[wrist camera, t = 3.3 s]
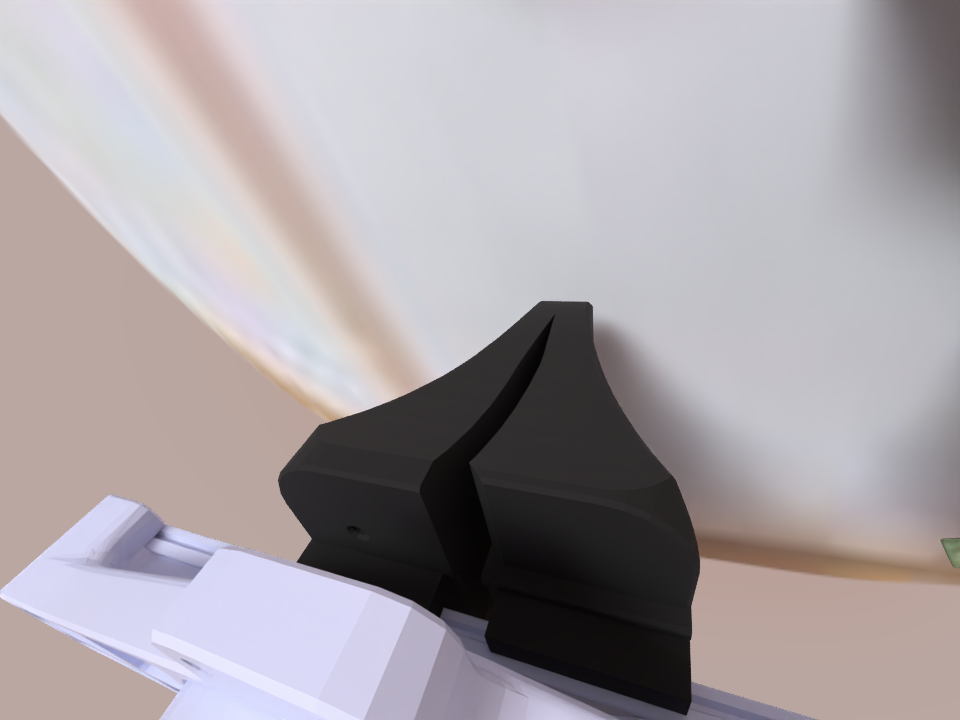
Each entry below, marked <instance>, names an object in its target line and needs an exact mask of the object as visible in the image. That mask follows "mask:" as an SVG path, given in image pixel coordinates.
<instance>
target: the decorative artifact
mask: <svg viewBox="0 0 960 720" xmlns="http://www.w3.org/2000/svg"><path fill="white" fill-rule="evenodd" d="M941 543H942V545H943V547H944V549H945V551H946V554H947V556H948V558H949V560H950V562H951V564H952V565H953V567H954V568H960V538H949V539H941Z"/></svg>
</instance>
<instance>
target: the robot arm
mask: <svg viewBox="0 0 960 720" xmlns="http://www.w3.org/2000/svg"><path fill="white" fill-rule="evenodd" d="M278 482H279V487H280V491H281V495H282V496H283V498H284V500H285V501H286V503H287V505H288V506H289V508H290V509H291V510H292V512H293V513H294V514H295V516H296V517H297V519H298V520H299V521H300V523H301V524H302V526H303V527H304V528H305V530H306V531H307V532H308V534H309V535H310V536H311V538H312V540H311V541H310V543H309V544H308V546H307V547H306V549H305V550H304V552H303V553H302V555H301V556H300V558H299V559H298V561H297V562H293V561H289V560H286V559H282V558H279V557H276V556H272V555H269V554H265V553H262V552H259V551H256V550H252V549H249V548H242V547H239V546H236V545H232V544H229V543H226V542H222V541H219V540H216V539H212V538H209V537H206V536H202V535H199V534H196V533H192V532H189V531H186V530H182V529H179V528H176V527H172V526H169V525H165V524H164V521H163V520H162V518H160V517H159V516H158V514H157V513H155V512H154V511H153V510H152V509H151V508H149V507H147V506H146V505H144V504H142V503H140V502H137V501H133V500H130V499H126V498H123V497H119V496H115V495H109V496H107V497H106V498H105V499H104V500H103V501H101V502H100V503H99V504H98V505H97V506H96V507H95V508H93V509H92V510H91V511H90V512H89V513H88V514H87V515H85V516H84V517H83V518H82V519H81V520H80V521H79V522H78V523H77V524H75V525H74V526H73V527H72V528H71V529H70V530H69V531H67V532H66V533H65V534H64V535H63V536H62V537H60V538H59V539H58V540H57V541H56V542H55V543H54V544H53V545H51V546H50V547H49V548H48V549H47V550H46V551H45V552H43V554H41V555H40V556H39V557H38V558H37V559H35V560H34V561H33V562H32V563H31V564H30V565H29V566H27V567H26V568H25V569H24V570H23V571H22V572H21V573H20V574H18V575H17V576H16V577H15V578H14V579H13V580H12V581H11V582H9V583H8V584H7V585H6V586H5V587H4V588H3V589H1V590H0V598H2V599H3V600H5V601H7V602H9V603H11V604H12V605H14V606H16V607H18V608H19V609H21V610H23V611H25V612H26V613H28V614H30V615H32V616H33V617H35V618H37V619H39V620H40V621H42V622H44V623H46V624H47V625H49V626H51V627H53V628H54V629H56V630H58V631H60V632H61V633H63V634H65V635H67V636H69V637H70V638H72V639H74V640H76V641H78V642H79V643H81V644H83V645H85V646H86V647H88V648H90V649H92V650H95V651H96V652H99V653H100V654H102V655H104V656H106V657H108V658H110V659H112V660H115V661H116V662H118V663H120V664H122V665H124V666H126V667H128V668H130V669H132V670H134V671H136V672H138V673H140V674H142V675H143V676H145V677H147V678H149V679H151V680H153V681H155V682H157V683H159V684H161V685H163V686H165V687H167V688H169V689H170V690H172V691H175V692H176V693H178V694H177V695H176V697H175V698H174V700H173V701H172V703H171V704H170V705H169V707H168V708H167V710H166V711H165V712H164V714H163V715H162V717H161V718H160V719H159V720H817V719H814V718H811V717H807V716H804V715H801V714H797V713H794V712H790V711H787V710H784V709H781V708H777V707H774V706H770V705H767V704H764V703H760V702H757V701H754V700H751V699H747V698H744V697H740V696H737V695H734V694H730V693H727V692H723V691H720V690H717V689H714V688H710V687H707V686H704V685H700V684H697V683H693V682H691V664H690V663H691V661H690V640H691V637H692V618H691V605H692V601H693V596H694V593H695V589H696V585H697V581H698V577H699V573H700V557H699V551H698V546H697V541H696V537H695V533H694V529H693V526H692V523H691V520H690V517H689V514H688V511H687V508H686V505H685V503H684V500H683V498H682V495H681V492H680V490H679V487H678V485H677V482H676V480H675V478H674V477H673V476H672V475H671V474H670V473H669V472H668V471H667V470H666V468H665V467H664V466H663V465H662V464H661V463H660V462H659V460H658V459H657V458H656V457H655V456H654V454H653V453H652V452H651V451H650V450H649V448H648V447H647V446H646V444H645V443H644V442H643V440H642V439H641V438H640V436H639V435H638V434H637V432H636V431H635V429H634V428H633V426H632V425H631V423H630V422H629V420H628V419H627V417H626V415H625V414H624V412H623V411H622V409H621V408H620V406H619V404H618V402H617V400H616V399H615V397H614V395H613V393H612V391H611V389H610V387H609V385H608V383H607V380H606V378H605V376H604V373H603V371H602V368H601V365H600V363H599V360H598V357H597V354H596V350H595V346H594V342H593V306H592V305H591V304H590V303H589V302H562V301H541V302H539V303H538V304H537V305H536V306H534V307H533V308H532V309H531V310H530V311H529V312H528V313H527V314H525V315H524V316H523V317H522V318H521V319H520V320H519V321H518V322H516V323H515V324H514V325H513V326H512V327H511V328H509V329H508V330H507V331H506V332H505V333H503V334H502V335H501V336H500V337H499V338H497V339H496V340H495V341H493V342H492V343H491V344H489V345H488V346H487V347H486V348H484V349H483V350H482V351H480V352H479V353H478V354H476V355H475V356H474V357H472V358H471V359H469V360H468V361H466V362H465V363H463V364H462V365H460V366H459V367H457V368H455V369H454V370H452V371H450V372H449V373H447V374H445V375H444V376H442V377H440V378H438V379H436V380H434V381H432V382H430V383H428V384H426V385H424V386H422V387H420V388H418V389H416V390H414V391H412V392H410V393H408V394H406V395H404V396H401V397H399V398H397V399H394V400H392V401H390V402H387V403H385V404H382V405H379V406H377V407H374V408H372V409H369V410H366V411H363V412H360V413H357V414H354V415H351V416H347V417H344V418H341V419H338V420H335V421H332V422H328V423H325V424H321V425H319V426H318V427H317V428H316V430H315V431H314V432H313V433H312V434H311V436H310V437H309V438H308V439H307V441H306V442H305V443H304V444H303V445H302V447H301V448H300V449H299V450H298V451H297V453H296V454H295V455H294V456H293V458H292V459H291V460H290V461H289V462H288V464H287V465H286V466H285V467H284V468H283V470H282V471H281V472H280V475H279V479H278Z"/></svg>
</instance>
